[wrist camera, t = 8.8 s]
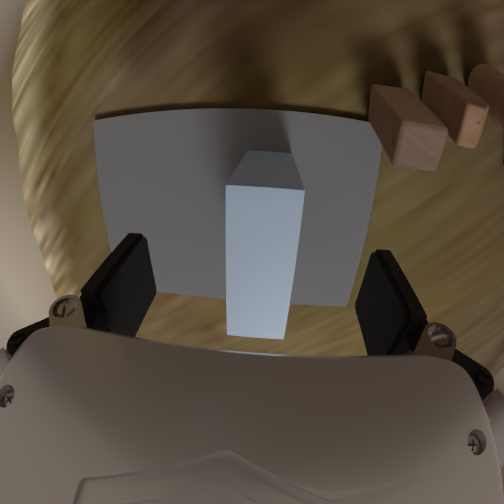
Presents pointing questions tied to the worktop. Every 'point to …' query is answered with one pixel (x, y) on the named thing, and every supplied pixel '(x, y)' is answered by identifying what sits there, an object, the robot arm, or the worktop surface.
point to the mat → (214, 192)
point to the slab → (262, 243)
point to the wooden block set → (435, 115)
